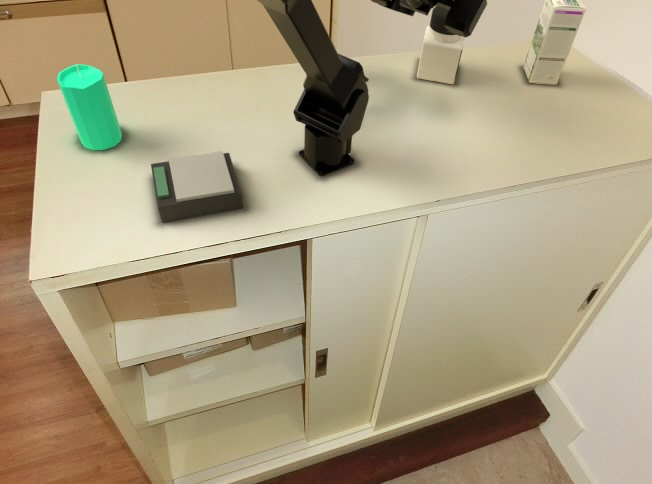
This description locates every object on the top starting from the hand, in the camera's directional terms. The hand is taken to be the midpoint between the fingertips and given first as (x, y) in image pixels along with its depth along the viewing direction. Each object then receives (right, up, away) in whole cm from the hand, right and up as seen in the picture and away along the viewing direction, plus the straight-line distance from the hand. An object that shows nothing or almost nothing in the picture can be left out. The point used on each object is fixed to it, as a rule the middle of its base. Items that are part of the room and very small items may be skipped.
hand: (436, 22), depth 90 cm
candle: (-53, -22, -8) cm, 58 cm away
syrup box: (+22, -5, +13) cm, 26 cm away
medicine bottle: (+2, -5, +11) cm, 12 cm away
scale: (-36, -31, -15) cm, 50 cm away
